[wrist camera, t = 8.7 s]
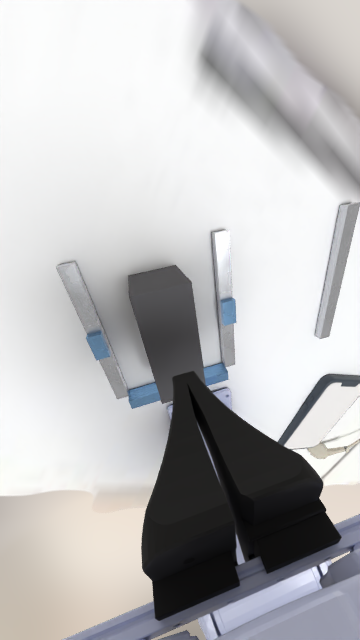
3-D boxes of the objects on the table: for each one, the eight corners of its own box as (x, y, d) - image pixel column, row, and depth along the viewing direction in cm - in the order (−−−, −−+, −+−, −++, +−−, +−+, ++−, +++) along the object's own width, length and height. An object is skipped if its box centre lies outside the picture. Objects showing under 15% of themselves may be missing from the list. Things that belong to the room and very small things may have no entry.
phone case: (309, 439, 39) (362, 374, 32) (316, 448, 37) (373, 381, 31) (271, 442, 36) (320, 371, 29) (277, 451, 35) (330, 379, 28)
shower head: (378, 401, 44) (306, 429, 38) (399, 410, 41) (324, 442, 35) (376, 423, 45) (305, 453, 39) (396, 434, 42) (322, 469, 36)
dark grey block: (190, 355, 22) (206, 390, 18) (155, 366, 22) (162, 403, 18) (175, 264, 17) (191, 281, 13) (128, 275, 17) (129, 296, 13)
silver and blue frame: (321, 340, 26) (332, 347, 24) (120, 400, 23) (120, 412, 21) (351, 202, 18) (368, 202, 17) (59, 264, 15) (52, 269, 14)
